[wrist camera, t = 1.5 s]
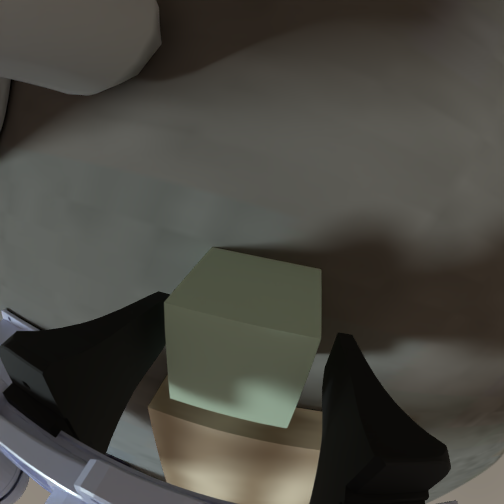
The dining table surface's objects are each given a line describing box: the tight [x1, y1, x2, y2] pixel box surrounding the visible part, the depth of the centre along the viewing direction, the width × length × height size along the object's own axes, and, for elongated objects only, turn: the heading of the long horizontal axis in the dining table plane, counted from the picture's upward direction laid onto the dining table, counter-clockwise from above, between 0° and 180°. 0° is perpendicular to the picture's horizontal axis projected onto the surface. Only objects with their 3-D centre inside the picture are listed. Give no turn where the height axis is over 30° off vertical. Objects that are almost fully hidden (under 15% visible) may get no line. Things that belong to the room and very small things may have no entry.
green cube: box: [164, 247, 322, 428], centre depth 12 cm, size 5×5×5 cm
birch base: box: [148, 375, 322, 504], centre depth 18 cm, size 14×14×3 cm
